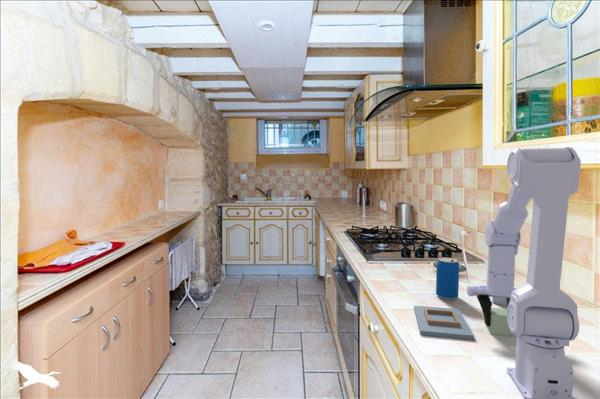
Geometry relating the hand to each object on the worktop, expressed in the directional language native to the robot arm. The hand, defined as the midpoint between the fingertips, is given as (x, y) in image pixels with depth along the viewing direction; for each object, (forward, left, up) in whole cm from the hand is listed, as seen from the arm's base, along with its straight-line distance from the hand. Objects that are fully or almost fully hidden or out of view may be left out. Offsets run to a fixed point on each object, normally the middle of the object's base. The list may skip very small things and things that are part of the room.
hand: (498, 325), depth 85 cm
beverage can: (+22, +8, -2) cm, 23 cm away
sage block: (0, 0, -1) cm, 1 cm away
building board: (+2, +13, -1) cm, 13 cm away
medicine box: (+22, -8, -2) cm, 23 cm away
